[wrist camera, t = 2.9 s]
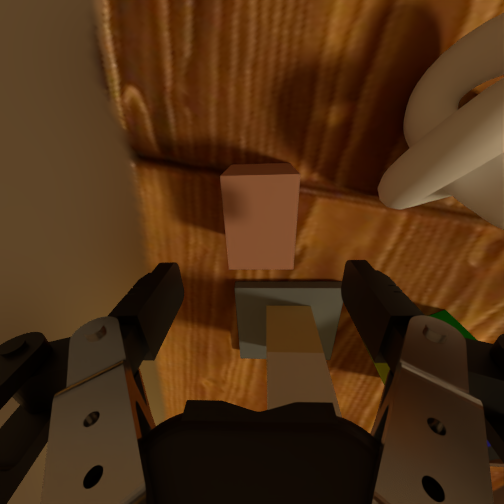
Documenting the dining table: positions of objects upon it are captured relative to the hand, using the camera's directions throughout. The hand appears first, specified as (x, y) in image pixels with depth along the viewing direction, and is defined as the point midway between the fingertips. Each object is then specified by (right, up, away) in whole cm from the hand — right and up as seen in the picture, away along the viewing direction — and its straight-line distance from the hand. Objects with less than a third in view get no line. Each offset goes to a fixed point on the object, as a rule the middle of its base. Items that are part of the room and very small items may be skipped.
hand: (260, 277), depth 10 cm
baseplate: (+4, -7, +17) cm, 19 cm away
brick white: (+4, -11, +10) cm, 15 cm away
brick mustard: (+4, -8, +16) cm, 18 cm away
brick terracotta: (0, +6, +10) cm, 12 cm away
